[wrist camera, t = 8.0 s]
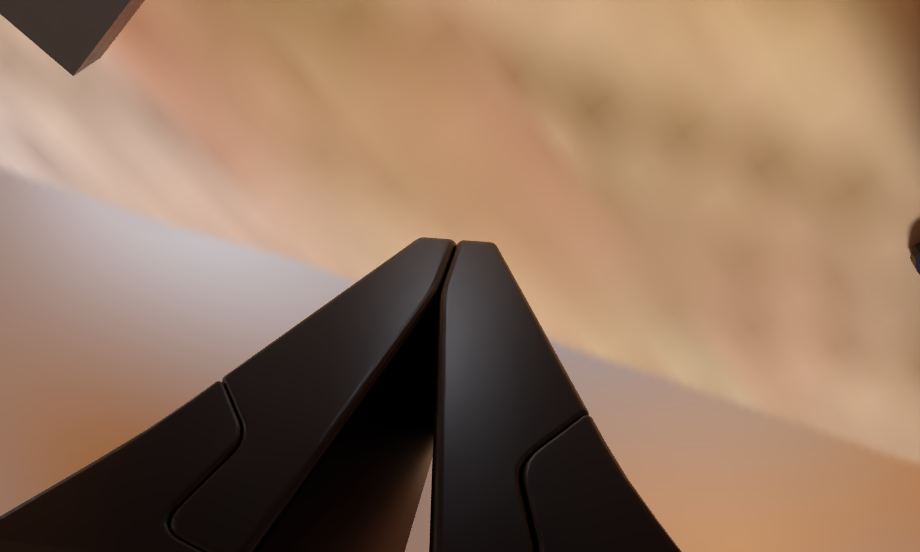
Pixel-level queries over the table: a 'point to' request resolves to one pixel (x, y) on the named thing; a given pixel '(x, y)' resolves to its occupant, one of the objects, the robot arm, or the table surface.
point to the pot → (70, 26)
